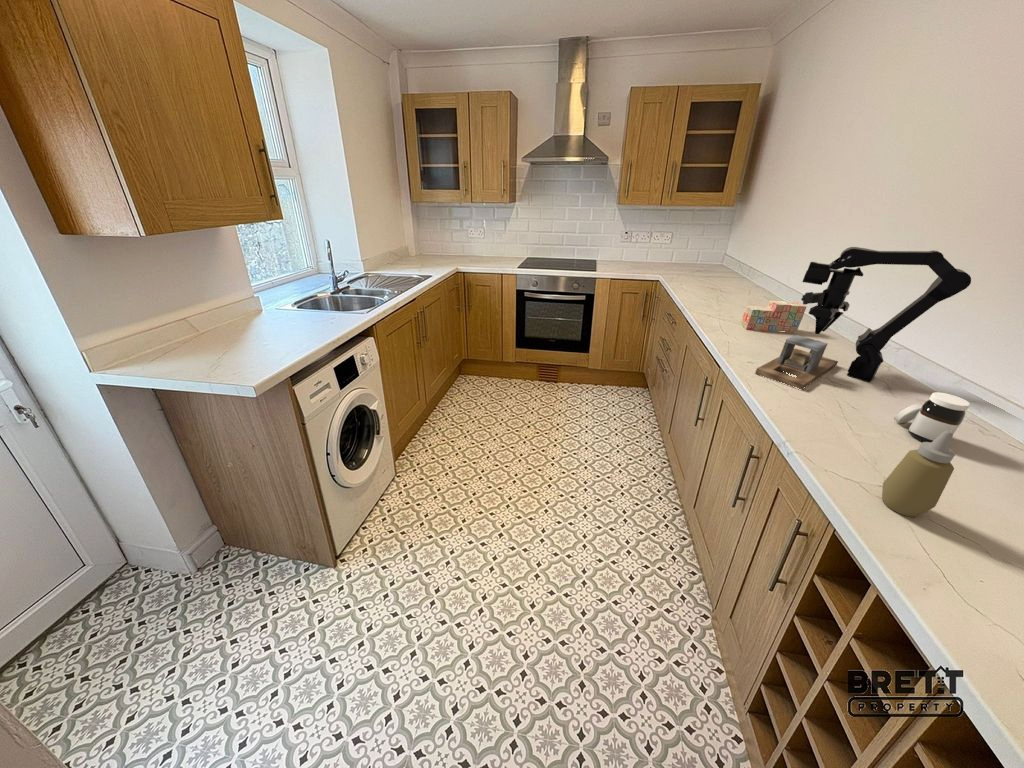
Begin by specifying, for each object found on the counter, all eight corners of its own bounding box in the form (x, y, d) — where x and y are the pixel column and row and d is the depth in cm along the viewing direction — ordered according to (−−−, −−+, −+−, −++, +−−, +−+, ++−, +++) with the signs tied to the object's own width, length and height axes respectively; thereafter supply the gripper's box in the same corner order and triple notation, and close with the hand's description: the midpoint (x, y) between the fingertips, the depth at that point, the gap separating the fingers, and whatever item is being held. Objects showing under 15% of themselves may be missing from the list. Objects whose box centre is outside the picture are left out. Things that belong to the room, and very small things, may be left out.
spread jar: (943, 452, 99) (970, 411, 94) (885, 431, 107) (907, 392, 101) (950, 435, 106) (975, 397, 100) (895, 416, 113) (916, 380, 108)
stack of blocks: (745, 330, 176) (754, 302, 170) (739, 325, 182) (748, 298, 176) (796, 333, 175) (807, 306, 169) (788, 328, 180) (799, 301, 175)
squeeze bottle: (901, 492, 85) (947, 420, 76) (938, 522, 78) (994, 446, 69) (864, 492, 84) (907, 420, 76) (898, 522, 77) (949, 445, 69)
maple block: (805, 366, 137) (810, 355, 136) (801, 369, 135) (805, 358, 133) (792, 362, 140) (797, 351, 138) (788, 365, 138) (792, 354, 136)
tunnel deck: (835, 366, 144) (849, 337, 139) (801, 390, 126) (814, 358, 121) (793, 353, 154) (804, 325, 148) (754, 373, 135) (765, 343, 130)
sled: (823, 358, 144) (829, 343, 141) (803, 370, 134) (810, 354, 131) (803, 352, 148) (809, 338, 146) (783, 364, 138) (789, 348, 135)
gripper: (820, 279, 143) (803, 321, 150) (800, 285, 132) (783, 330, 139) (858, 286, 135) (839, 330, 142) (840, 293, 125) (820, 340, 132)
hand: (819, 332), depth 139 cm, fingers open, 5 cm apart
